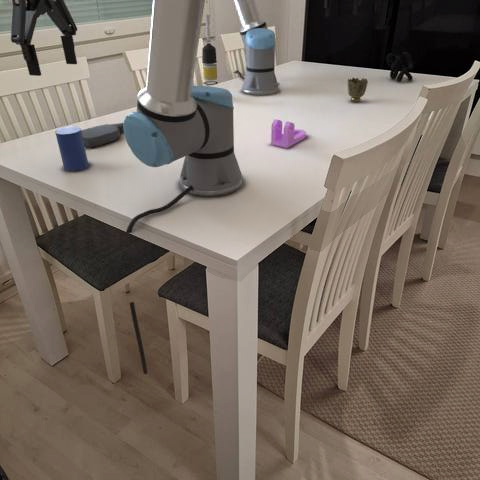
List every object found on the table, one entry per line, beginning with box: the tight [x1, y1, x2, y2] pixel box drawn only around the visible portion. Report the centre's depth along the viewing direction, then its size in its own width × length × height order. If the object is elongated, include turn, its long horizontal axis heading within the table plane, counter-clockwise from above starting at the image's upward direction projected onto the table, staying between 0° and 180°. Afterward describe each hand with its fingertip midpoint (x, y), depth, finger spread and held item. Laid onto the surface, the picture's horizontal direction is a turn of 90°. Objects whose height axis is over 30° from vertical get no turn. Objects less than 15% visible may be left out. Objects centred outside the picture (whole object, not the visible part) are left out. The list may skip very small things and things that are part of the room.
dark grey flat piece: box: [81, 122, 124, 149], centre depth 142 cm, size 3×11×25 cm
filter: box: [201, 14, 219, 86], centre depth 171 cm, size 6×6×30 cm
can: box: [54, 125, 89, 172], centre depth 118 cm, size 6×6×10 cm
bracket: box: [270, 119, 307, 149], centre depth 134 cm, size 13×6×7 cm, turn 143°
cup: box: [347, 77, 369, 103], centre depth 170 cm, size 8×7×8 cm
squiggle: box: [385, 51, 414, 83], centre depth 198 cm, size 11×10×15 cm
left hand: (54, 69), depth 108 cm, fingers open, 13 cm apart
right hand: (341, 15), depth 186 cm, fingers open, 13 cm apart
